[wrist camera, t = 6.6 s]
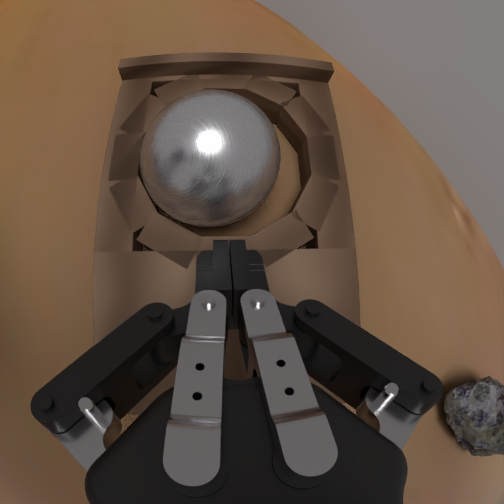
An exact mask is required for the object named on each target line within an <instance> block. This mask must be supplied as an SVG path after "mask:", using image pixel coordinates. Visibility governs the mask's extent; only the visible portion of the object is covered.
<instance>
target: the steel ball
mask: <svg viewBox="0 0 504 504" xmlns="http://www.w3.org/2000/svg"><path fill="white" fill-rule="evenodd" d="M280 161H281V158H280V145H279V141H278V137H277V134H276V131H275V129H274V127H273V125H272V123H271V122H270V120H269V118H268V117H267V116H266V115H265V113H264V112H263V111H262V110H261V109H260V108H259V107H258V106H257V105H255V104H254V103H253V102H251V101H250V100H248V99H247V98H245V97H243V96H240V95H238V94H236V93H233V92H229V91H225V90H216V89H205V90H199V91H194V92H190V93H187V94H185V95H183V96H181V97H179V98H177V99H175V100H173V101H172V102H170V103H169V104H167V105H166V106H165V107H164V108H163V109H162V110H161V111H160V112H159V113H158V114H157V115H156V116H155V117H154V119H153V120H152V122H151V123H150V125H149V127H148V128H147V130H146V133H145V135H144V138H143V141H142V145H141V151H140V168H141V174H142V178H143V181H144V184H145V187H146V189H147V191H148V193H149V194H150V196H151V197H152V199H153V200H154V202H155V203H156V204H157V205H158V206H159V207H160V208H161V209H162V210H163V211H164V212H166V213H167V214H168V215H170V216H171V217H173V218H175V219H177V220H179V221H181V222H184V223H187V224H190V225H193V226H199V227H218V226H224V225H228V224H232V223H234V222H237V221H239V220H241V219H243V218H244V217H246V216H248V215H250V214H251V213H252V212H254V211H255V210H256V209H257V208H258V207H259V206H260V205H261V204H262V203H263V202H264V201H265V199H266V198H267V197H268V195H269V194H270V192H271V190H272V189H273V187H274V185H275V182H276V180H277V177H278V173H279V169H280Z"/></svg>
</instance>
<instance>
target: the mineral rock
mask: <svg viewBox="0 0 504 504" xmlns="http://www.w3.org/2000/svg"><path fill="white" fill-rule="evenodd" d="M444 409H445V412H446V413H447V416H446V419H445V420H446V422H447V424H448V425H450V426H451V428H452V429H453V431H454V433H455V437H456V439H457V441H458V442H462V447H463V448H464V449H468V450H469V451H470V453H471V454H472V455H473V456H477V455H479V456H490V455H494V454H503V455H504V385H503V384H501V383H500V382H498V380H496V379H493V378H491V377H490V376H488V377H485V378H483V379H481V380H479V381H474V382H470V383H465V384H463V385H462V386H458V387H455V388H453V389H452V390H451V391H449V393H448V394H447V395H446V397H445V401H444Z"/></svg>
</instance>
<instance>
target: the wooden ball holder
mask: <svg viewBox="0 0 504 504" xmlns="http://www.w3.org/2000/svg"><path fill="white" fill-rule="evenodd" d="M118 69H119V72H120V75H121V78H122V84H121V87H120V91H119V95H118V99H117V103H116V107H115V111H114V115H113V120H112V124H111V129H110V133H109V138H108V144H107V149H106V154H105V160H104V166H103V173H102V179H101V186H100V194H99V202H98V211H97V221H96V233H95V248H94V269H93V323H94V344H95V345H96V344H97V343H98V342H99V341H101V340H102V339H103V338H104V337H106V336H107V335H108V334H109V333H111V332H112V331H113V330H115V329H116V328H117V327H118V326H120V325H121V324H122V323H123V322H125V321H126V320H127V319H129V318H130V317H131V316H132V315H134V314H135V313H136V312H138V311H139V310H140V309H141V308H143V307H144V306H146V305H148V304H150V303H155V302H160V303H164V304H167V305H168V306H170V307H171V309H176V308H180V307H183V306H185V305H187V304H188V303H190V302H191V300H192V298H193V296H194V295H195V283H196V268H197V257H198V255H199V254H200V253H201V251H206V250H213V240H228V242H229V240H245V244H246V250H257V252H258V253H259V254H260V255H261V256H262V259H263V265H264V268H265V273H266V277H267V282H268V286H269V291H270V293H271V294H272V295H273V296H274V298H275V300H276V301H278V302H280V303H282V304H286V305H290V306H296V305H297V304H298V303H299V302H300V301H303V300H306V299H313V300H317V301H320V302H322V303H323V304H325V305H326V306H328V307H330V308H331V309H333V310H334V311H336V312H337V313H339V314H340V315H342V316H344V317H345V318H347V319H348V320H350V321H351V322H353V323H354V324H356V325H358V326H359V327H360V302H359V285H358V271H357V258H356V247H355V237H354V228H353V219H352V211H351V203H350V196H349V189H348V182H347V176H346V170H345V163H344V158H343V152H342V146H341V141H340V136H339V131H338V126H337V121H336V116H335V111H334V107H333V102H332V98H331V93H330V89H329V85H328V82H329V80H330V78H331V76H332V74H333V72H334V69H333V66H332V63H330V62H324V61H318V60H311V59H304V58H296V57H287V56H278V55H266V54H250V53H181V54H166V55H154V56H144V57H136V58H128V59H121V61H120V64H119V67H118ZM205 89H216V90H225V91H229V92H233V93H236V94H238V95H240V96H243V97H245V98H247V99H248V100H250V101H251V102H253V103H254V104H255V105H257V106H258V107H259V108H260V109H261V110H262V111H263V112H264V113H265V115H266V116H267V117H268V118H269V120H270V122H272V123H274V124H276V125H277V126H278V128H279V129H280V130H281V132H282V133H283V134H284V135H285V137H286V138H287V139H288V141H289V142H290V143H291V145H292V146H293V148H294V149H295V150H296V152H297V153H298V160H299V170H300V179H301V191H300V193H299V195H298V197H297V199H296V201H295V202H294V204H293V206H292V208H291V210H290V212H289V214H288V215H286V216H285V217H283V218H281V219H280V220H278V221H276V222H274V223H273V224H271V225H269V226H267V227H266V228H264V229H262V230H261V231H259V232H257V233H256V234H254V235H252V236H205V237H200V236H198V235H196V234H195V233H193V232H191V231H189V230H187V229H186V228H184V227H182V226H180V225H178V224H176V223H175V222H173V221H171V220H169V219H167V218H166V217H164V216H162V215H160V214H159V213H158V212H157V210H156V208H155V206H154V204H153V202H152V200H151V199H150V197H149V195H148V193H147V191H146V187H145V184H144V181H143V178H142V174H141V168H140V151H141V145H142V141H143V138H144V135H145V133H146V130H147V128H148V127H149V125H150V123H151V122H152V120H153V119H154V117H155V116H156V115H157V114H158V113H159V112H160V111H161V110H162V109H163V108H164V107H165V106H166V105H167V104H169V103H170V102H172V101H173V100H175V99H177V98H179V97H181V96H183V95H185V94H187V93H190V92H194V91H199V90H205ZM305 244H306V249H299V248H300V247H302V246H303V245H305ZM143 246H144V247H145V248H147V249H148V250H150V251H142V249H143ZM176 371H177V366H176V367H175V368H174V369H173V370H172V371H171V372H170V373H169V374H168V375H167V376H166V377H165V378H164V379H163V380H162V381H161V382H160V383H159V384H158V385H157V386H155V387H154V388H153V389H152V390H151V391H150V392H149V393H148V394H147V395H146V396H145V397H144V398H143V399H142V400H141V401H140V402H139V403H138V404H137V405H136V406H134V407H133V408H132V409H131V410H130V411H129V412H128V413H129V414H142V412H143V411H144V410H145V409H146V408H147V407H148V406H149V405H150V404H151V403H152V402H153V401H154V400H155V399H156V398H157V397H158V396H159V395H160V394H162V393H163V392H164V391H166V390H168V389H170V388H172V387H174V385H175V378H176ZM307 375H308V374H307ZM308 377H309V380H310V382H311V383H313V384H315V385H317V386H318V387H320V388H322V389H323V390H324V391H326V392H327V393H328V394H329V395H331V396H332V397H333V398H334V399H336V400H337V401H338V402H340V403H346V402H344V401H343V400H342V399H340V398H339V397H338V396H336V395H335V394H333V393H332V392H331V391H329V390H328V389H326V388H325V387H324V386H322V385H321V384H320V383H318V382H317V381H316V380H314V379H313V378H312V377H310V376H309V375H308ZM225 378H226V379H232V380H238V381H242V380H246V379H245V373H244V369H243V364H242V359H241V354H240V348H239V331H238V329H233V322H232V330H228V340H227V342H226V377H225Z"/></svg>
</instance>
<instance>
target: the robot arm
mask: <svg viewBox="0 0 504 504" xmlns="http://www.w3.org/2000/svg"><path fill="white" fill-rule="evenodd" d="M232 322H233V329H238V331H239V348H240V354H241V359H242V364H243V369H244V373H245V379H246V380H242V381H238V380H232V379H226V378H225V377H226V342H227V340H228V330H232ZM176 366H177V371H176V378H175V385H174V387H172V388H170V389H168V390H166V391H164V392H163V393H162V394H160V395H159V396H158V397H157V398H156V399H155V400H154V401H153V402H152V403H151V404H150V405H149V406H148V407H147V408H146V409H145V410H144V411H143V412H142V414H141V415H140V416H139V417H138V418H137V419H136V420H135V421H134V422H133V423H132V424H131V425H130V426H129V427H128V428H127V429H126V430H125V431H124V432H123V433H122V434H121V435H120V433H121V429H122V425H121V421H120V420H121V419H122V418H123V417H124V416H125V415H126V414H127V413H128V412H129V411H130V410H131V409H132V408H133V407H134V406H136V405H137V404H138V403H139V402H140V401H141V400H142V399H143V398H144V397H145V396H146V395H147V394H148V393H149V392H150V391H151V390H152V389H153V388H154V387H155V386H157V385H158V384H159V383H160V382H161V381H162V380H163V379H164V378H165V377H166V376H167V375H168V374H169V373H170V372H171V371H172V370H173V369H174V368H175V367H176ZM307 374H308V375H309V376H310V377H312V378H313V379H314V380H316V381H317V382H318V383H320V384H321V385H322V386H324V387H325V388H326V389H328V390H329V391H331V392H332V393H333V394H335V395H336V396H338V397H339V398H340V399H342V400H343V401H344V402H346V403H347V404H349V405H350V406H352V407H353V408H354V409H356V415H355V414H354V413H353V412H351V411H350V410H349V409H347V408H346V407H345V406H344V405H342V404H341V403H340V402H338V401H337V400H336V399H334V398H333V397H332V396H331V395H329V394H328V393H327V392H326V391H324V390H323V389H322V388H320V387H318V386H317V385H315V384H313V383H311V382H310V380H309V377H308V375H307ZM442 395H443V385H442V383H441V381H440V379H439V378H438V377H437V376H436V375H434V374H433V373H431V372H429V371H428V370H426V369H425V368H423V367H422V366H420V365H418V364H417V363H415V362H414V361H412V360H411V359H409V358H408V357H406V356H404V355H403V354H401V353H400V352H398V351H397V350H395V349H393V348H392V347H390V346H389V345H387V344H386V343H384V342H383V341H381V340H379V339H378V338H376V337H375V336H373V335H372V334H370V333H368V332H367V331H365V330H364V329H362V328H361V327H359V326H358V325H356V324H354V323H353V322H351V321H350V320H348V319H347V318H345V317H344V316H342V315H340V314H339V313H337V312H336V311H334V310H333V309H331V308H330V307H328V306H326V305H325V304H323V303H322V302H320V301H317V300H313V299H306V300H303V301H300V302H299V303H298V304H297V305H296V306H290V305H286V304H282V303H280V302H278V301H276V300H275V298H274V296H273V295H272V294H271V293H270V291H269V286H268V282H267V277H266V273H265V268H264V265H263V259H262V256H261V255H260V254H259V253H258V252H257V250H246V244H245V240H229V242H228V240H213V250H206V251H201V253H200V254H199V255H198V257H197V268H196V283H195V295H194V296H193V298H192V300H191V302H190V303H188V304H187V305H185V306H183V307H180V308H176V309H171V307H170V306H168V305H167V304H164V303H160V302H155V303H150V304H148V305H146V306H144V307H143V308H141V309H140V310H139V311H138V312H136V313H135V314H134V315H132V316H131V317H130V318H129V319H127V320H126V321H125V322H123V323H122V324H121V325H120V326H118V327H117V328H116V329H115V330H113V331H112V332H111V333H109V334H108V335H107V336H106V337H104V338H103V339H102V340H101V341H99V342H98V343H97V344H96V345H94V346H93V347H92V348H91V349H89V350H88V351H87V352H86V353H84V354H83V355H82V356H81V357H79V358H78V359H77V360H76V361H74V362H73V363H72V364H71V365H69V366H68V367H67V368H66V369H64V370H63V371H62V372H61V373H59V374H58V375H57V376H56V377H55V378H53V379H52V380H51V381H50V382H48V383H47V384H46V385H45V386H44V387H42V388H41V389H40V390H39V391H37V392H36V393H35V395H34V396H33V398H32V400H31V412H32V414H33V416H34V417H35V418H36V419H37V420H38V421H39V422H40V423H41V424H42V425H43V426H44V427H45V428H46V429H47V430H48V431H49V432H50V433H51V434H52V435H53V436H55V437H56V438H57V439H58V440H59V441H61V442H62V444H63V445H64V446H65V447H66V448H67V450H68V451H69V452H70V453H71V454H72V456H73V457H74V458H75V459H76V460H77V461H78V462H79V463H80V465H81V466H82V467H83V468H84V469H85V470H86V471H87V474H86V478H85V491H86V496H87V499H88V501H89V503H90V504H403V493H404V486H405V482H406V478H407V462H406V458H405V456H404V454H403V452H402V451H401V450H402V448H403V446H404V445H405V443H406V442H407V440H408V438H409V437H410V435H411V433H412V432H413V430H414V428H415V427H416V425H417V423H418V421H419V420H420V418H421V417H422V416H423V415H424V414H425V413H426V412H427V411H428V410H430V409H431V408H432V407H433V406H434V405H435V404H436V403H437V402H438V401H439V400H440V398H441V397H442ZM119 435H120V436H119Z"/></svg>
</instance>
